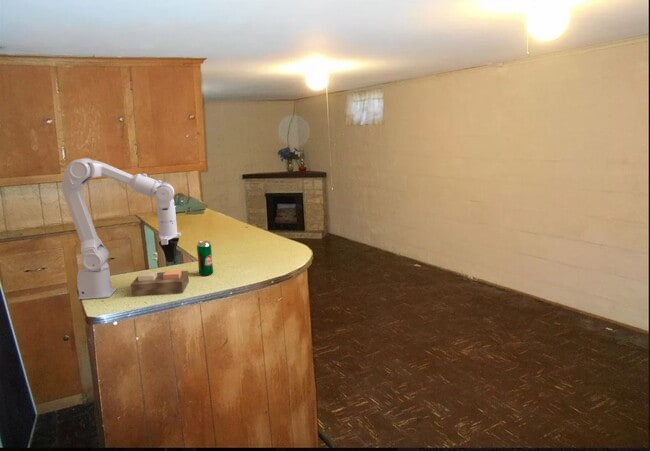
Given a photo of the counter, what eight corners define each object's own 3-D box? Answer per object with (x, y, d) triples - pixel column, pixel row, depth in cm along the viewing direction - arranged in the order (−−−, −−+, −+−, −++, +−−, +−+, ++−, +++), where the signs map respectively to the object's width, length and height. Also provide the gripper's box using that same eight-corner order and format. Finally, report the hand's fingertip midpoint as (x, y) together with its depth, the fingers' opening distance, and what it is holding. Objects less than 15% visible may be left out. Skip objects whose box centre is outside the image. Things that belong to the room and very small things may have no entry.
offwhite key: (138, 283, 163) (137, 276, 163) (142, 279, 168) (141, 272, 167) (154, 282, 164) (153, 275, 163) (157, 278, 168) (156, 271, 168)
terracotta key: (163, 282, 164) (162, 275, 163) (166, 277, 169) (166, 270, 168) (179, 281, 164) (178, 274, 164) (181, 276, 169) (181, 269, 169)
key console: (131, 296, 160) (130, 284, 159) (141, 284, 172) (140, 273, 171) (182, 293, 162) (181, 281, 161) (188, 281, 173) (187, 270, 173)
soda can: (208, 276, 178) (205, 244, 176) (196, 275, 180) (193, 243, 178) (216, 272, 183) (213, 241, 181) (204, 271, 185) (201, 240, 183)
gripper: (175, 224, 156) (179, 266, 159) (183, 216, 170) (187, 254, 173) (152, 225, 155) (156, 267, 158) (162, 217, 169) (166, 255, 172)
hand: (171, 261), depth 165 cm, fingers closed
